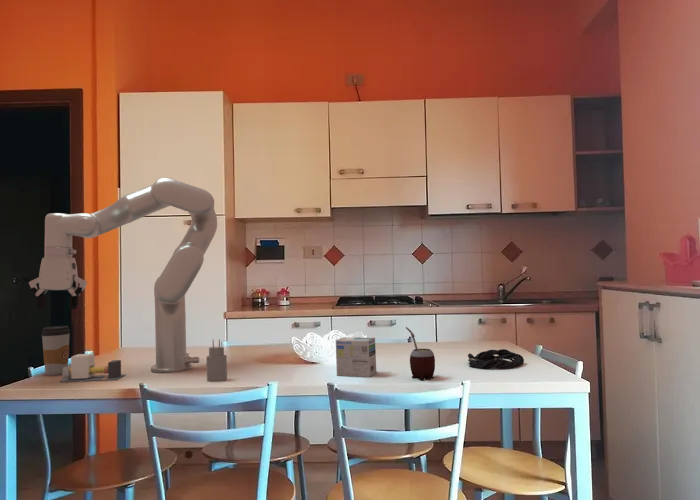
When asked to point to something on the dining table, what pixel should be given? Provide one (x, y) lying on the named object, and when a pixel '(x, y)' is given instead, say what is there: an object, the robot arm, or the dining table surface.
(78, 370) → the marker sleeve
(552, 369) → the dining table surface
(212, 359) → the power adapter
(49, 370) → the coffee cup
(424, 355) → the mate gourd
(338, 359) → the light bulb box
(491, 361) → the cable
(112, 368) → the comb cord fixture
